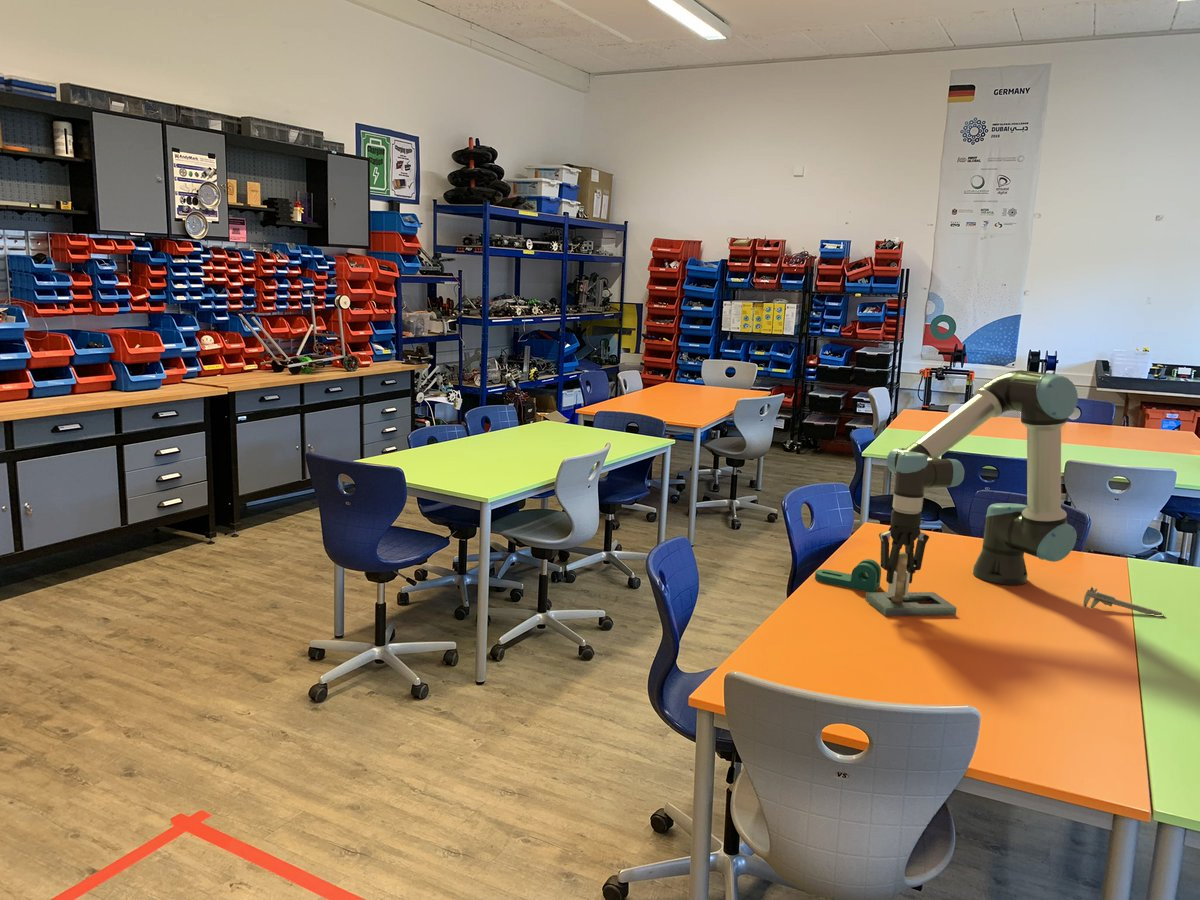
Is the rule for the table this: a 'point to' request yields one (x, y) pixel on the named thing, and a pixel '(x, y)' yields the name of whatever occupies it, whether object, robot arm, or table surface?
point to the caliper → (1114, 602)
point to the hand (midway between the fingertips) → (897, 594)
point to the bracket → (854, 577)
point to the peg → (900, 578)
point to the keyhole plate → (911, 604)
